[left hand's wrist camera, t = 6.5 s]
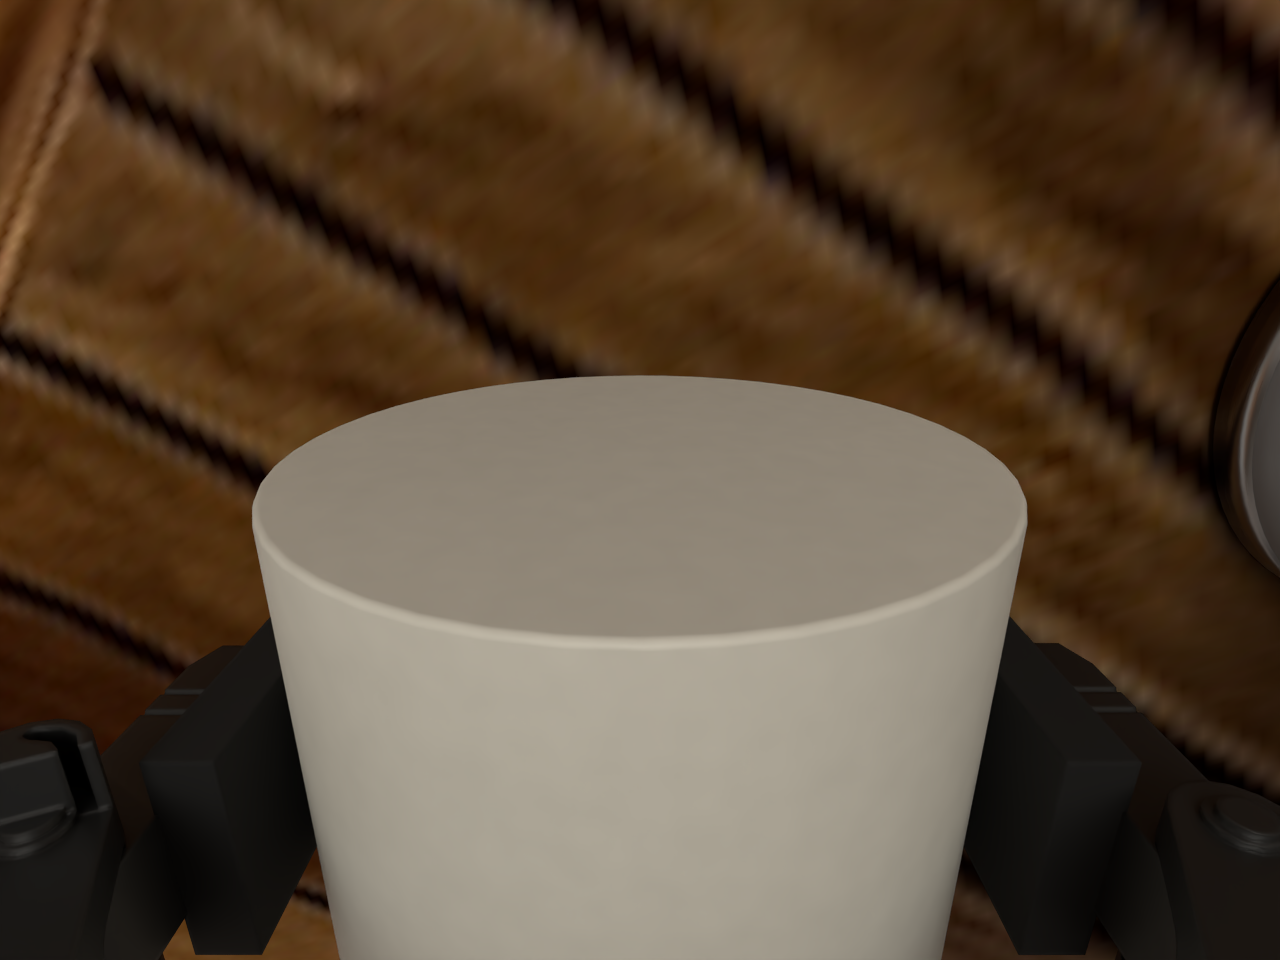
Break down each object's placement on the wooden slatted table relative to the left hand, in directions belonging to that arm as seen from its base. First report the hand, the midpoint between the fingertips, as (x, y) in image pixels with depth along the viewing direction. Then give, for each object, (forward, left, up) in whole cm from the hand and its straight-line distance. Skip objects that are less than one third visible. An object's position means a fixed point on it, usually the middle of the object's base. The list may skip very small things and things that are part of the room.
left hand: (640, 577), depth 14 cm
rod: (-5, +8, 0) cm, 9 cm away
